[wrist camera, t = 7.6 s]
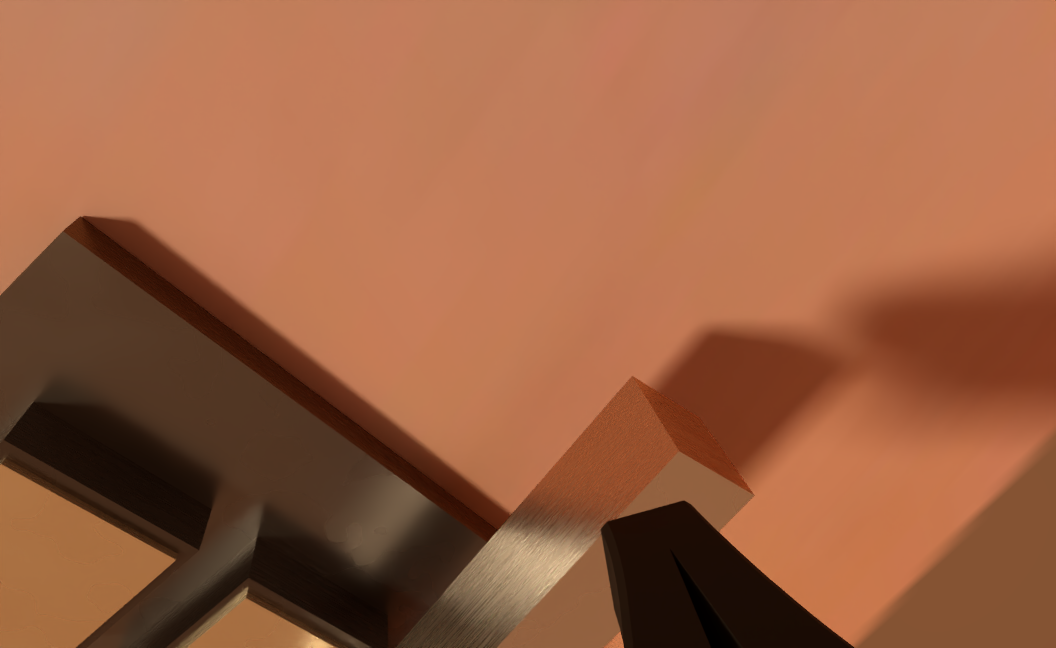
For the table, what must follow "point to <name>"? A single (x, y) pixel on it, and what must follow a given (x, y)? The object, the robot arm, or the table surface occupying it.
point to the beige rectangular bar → (582, 530)
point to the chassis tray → (193, 480)
